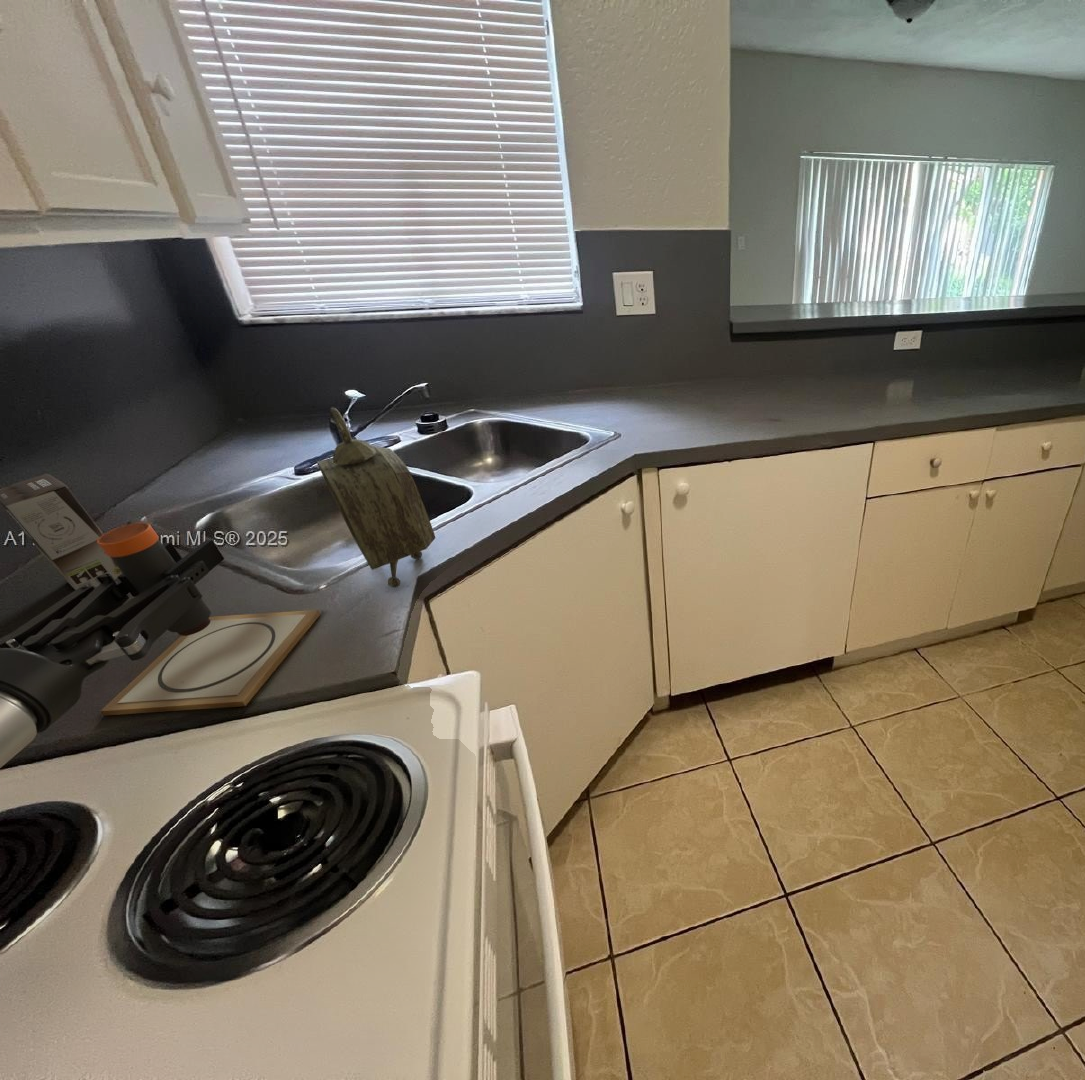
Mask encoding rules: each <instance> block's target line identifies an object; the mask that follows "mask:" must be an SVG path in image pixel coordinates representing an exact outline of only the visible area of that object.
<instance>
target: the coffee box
mask: <svg viewBox="0 0 1085 1080" xmlns="http://www.w3.org/2000/svg"><path fill="white" fill-rule="evenodd" d="M0 507H1V509H2V510H3V511H4V512H5V513H6V514H7V515H8V516H9V517H10V519H11V520H12V521H13V522H14V523H15V524H16V525H17V526H18V528H19V529H20V530H21V531H22V532H23V533H24V535H25V536H26V537H27V538H28V539H29V540H30V541H31V543H32V544H33V545H34V546H35V548H36V549H38V551H39V552H40V553H41V554H42V555H43V557H45V559H46V560H47V561H48V562H49V563H50V564H51V565H52V566H53V568H54V569H55V570H56V571H57V572H58V573H59V574H60V576H61V577H62V578H63V579H64V580H65V581H66V582H67V583H68V584H69V585H70V586H71V587H72V588H73V589H74V591H75V590H77V589H78V588H80V587H81V586H83V585H86V584H92V585H93V586H94V587H97V586H99V585H100V584H101V583H100V582H99V581H98V580H97V577H98V576H100V575H103V574H106V573H109V574H111V576H112V577H113V578H114V579H116V578H118V576H119V575H121V574H122V571H121V570H120V569H119V568H118V566H117V565H116V564H115V563H114V561H113V560H112V559H111V557H109V556H107V555H106V553H105V552H104V551H103V549H102V548H101V547H100V546H99V544H98V543H97V540H98V539H99V538H100V537H101V536H102V535H104V534H105V533H104V532H102V530H101V528H99V526H98V525H97V524H96V522H95V521H94V520H93V518H92V517H91V516H90V514H89V513H88V512H87V510H86V509H85V508H84V506H83V505H82V504H81V503H80V502H79V500H78V499H77V498H76V496H75V495H74V494H73V492H72V490H70V488H69V487H68V485H67V484H65V483H63V482H62V481H60V479H57V478H56V477H54V476H52V475H51V474H49V473H45V474H42V475H41V474H40V475H37V476H35V477H31V478H28V479H24V480H22V481H19V482H16V483H12V484H10V485H8V486H5V487H2V488H0Z"/></svg>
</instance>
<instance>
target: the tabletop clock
mask: <svg viewBox="0 0 1085 1080" xmlns="http://www.w3.org/2000/svg"><path fill="white" fill-rule="evenodd" d="M330 414H331V417H332V418H333V420H334V422H335V424H336V426H337V429H338V431H339V434H340V436H341V438H342V439H341V440H342V442H340V443H338V444H337V445H336V446H335V448H334V451H333V455H332V457H329V458H326V459H322V460H318V461H316V464H317V466H318V469H319V470H320V471H319V472H320V473H321V475H322V477H323V479H324V481H325V483H326V486H327V487H328V490H329V492H330V494H331V495H332V498H333V500H334V502H335V504H336V506H337V508H338V510H339V512H340V514H341V516H342V519H343V520H344V522H345V524H346V526H347V529H348V530H349V532H350V535H351V536H352V538H353V540H354V541H355V544H356V545H357V547H358V549H359V550H360V552H361V554H362V556H363V557H364V559H365V561H366V563H367V564H368V565H369V567H370V569H371V570H372V571H373V570H375V569H378V568H381V567H384V566H386V565H390V574H391V577H389V578H388V579H387V585H388V587H390V588H394V589H395V588H398V587H399V586H400V584H401V579H400V578H399V577H398V576H397V568H398V563H399V560H401V559H404V558H406V557H407V558H408V557H409V556H410V557H411V558H412V559H413V560H420V559H421V558H422V557H423V552H422V551H425V550H427V549H428V547H429V546H430V545H431V544H432V543H433V542H434V541H435V539H436V535H435V531H434V529H433V526H432V523H431V521H430V517H429V515H428V512H427V510H426V507H425V505H424V502H423V499H422V497H421V494H420V491H419V489H418V487H417V485H416V482H415V480H414V478H413V476H412V473H411V471H410V469H409V468H408V466H407V465H406V463H404V461H403V460H402V459H401V458H400V457H399V456H398V455H397V453H395V452H394V451H393V450H392V449H391V448H387V447H383V446H382V447H381V446H375V445H371V444H370V443H369V442H367V441H365V440H362V439H359V438H355V439H353V438H352V436H351V433H350V430H349V429H348V426H347V424H346V421H345V420H344V418H343V416H342V414H341V412H340V411H339V410H338V409H337V408H336V407H331V408H330Z"/></svg>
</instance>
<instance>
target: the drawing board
mask: <svg viewBox="0 0 1085 1080" xmlns="http://www.w3.org/2000/svg"><path fill="white" fill-rule="evenodd" d="M321 615H322V614H321V611H320V609H308V610H306V609H305V610H294V611H278V612H277V611H276V612H275V611H274V612H262V613H247V614H245V613H244V614H232V615H217V616H215V615H214V616H210V617H209V619H210V624H209V625H208V626H207V627H206V628H205V629H203V630H201V631H199V632H197V633H195V634H192V635H188V636H181V635H179V637H178V638H177V639H176V640H175V641H174V642H172V644H171V645H170V646H169V647H168V648H166V649H165V650H164V651H162V653H161V654H160V655H159V656H158V657H156V659H155V660H153V661H152V662H151V663H150V664H149V665H148V666H147V667H146V668H144V669H143V670H142V672H140V673H139V674H138V675H137V676H136V677H135V678H134V679H133V680H132V681H130V682H129V684H127V686H125V687H124V688H123V689H122V690H121V691H120V692H119V693H118V694H116V696H115V697H114V698H112V699H111V700H110V701H109V702H108V703H107V704H106V705H105V706H103V708H102V709H101V710H100V711H99V712H100V713H101V714H102V715H103V716H105V717H107V716H118V715H120V716H121V715H133V714H135V715H137V714H150V713H161V712H162V713H164V712H178V711H194V710H207V709H222V708H223V709H224V708H235V707H236V708H238V707H247V705H248V704H249V703H250V702H251V701H252V699H253V698H254V696H256V695H257V693H258V692H259V690H261V688H262V687H263V686H264V684H265V683H266V682H267V681H268V679H269V678H270V677H271V676H272V675H273V673H274V672H275V671H276V670H277V669H278V667H279V666H280V665H281V664H282V662H283V661H284V660H285V659H286V657H287V656H288V655H289V654H290V652H291V651H292V650H293V649H294V647H295V646H296V645H298V643H299V641H301V639H302V638H303V637H304V636H305V634H306V633H307V632H308V630H309V629H310V628H311V627H312V626H313V624H314V623H315V622H316V621H317V620H318V618H319V617H320V616H321Z"/></svg>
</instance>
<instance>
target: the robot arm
mask: <svg viewBox="0 0 1085 1080" xmlns="http://www.w3.org/2000/svg"><path fill="white" fill-rule="evenodd" d="M162 544H163V546H164V547H165V548H166V550H167V551H168V553H169V554H170V555H171V557H172V558H173V560H174V561H175V562H176V564H174V565H173V566H172V567H171V568H169V569H168V570H166V571H165V572H164V573H163V574H162V575H163V576H164V579H163V580H161V581H160V582H158V583H157V584H155V585H153V586H152V587H150V588H149V589H147V590H145V591H144V592H142V593H141V594H139V593H138V591H137V590H136V589H135V588H134V586H133V585H132V584H131V583H130V581H129V580H128V579H127V578H126V576H125V575H124V574H123V573H122V574H121V575H119V576H118V578H116V579H114V578H113V577H112V576H111V574H109V573H106V574H103V575H100V576H98V577H97V580H98V581H99V582H100V583H101V584H100V585H99V586H97V587H94V586H93V585H92V584H86V585H83V586H81V587H80V588H78V589H77V590H75V589H74V591H71V593H69V594H67V595H66V596H64V597H63V598H62V599H60V600H59V601H57V602H55V603H54V604H53V605H51V606H50V607H48V608H47V609H44V611H42V612H40V613H39V614H37V615H36V616H33V618H32V619H30V620H29V621H27V622H26V623H24V624H23V625H21V626H19V627H18V628H17V629H15V630H13V631H11V632H10V633H8V634H6V635H4V636H2V637H0V769H1V768H2V767H3V766H5V765H6V764H7V763H8V762H9V761H11V760H12V759H13V758H14V757H15V756H17V754H19V753H20V752H21V751H23V749H25V748H26V747H27V746H28V745H29V744H30V743H32V742H33V741H34V740H35V738H36V736H37V735H38V734H40V733H43V732H44V731H46V730H47V729H48V728H50V727H51V726H52V725H53V724H54V723H56V721H57V720H59V719H60V718H61V717H62V716H63V715H64V714H65V713H67V712H68V711H69V710H70V709H72V708H73V707H74V706H75V705H76V704H77V703H78V701H79V700H80V699H81V697H82V696H81V695H82V687H83V682H84V680H85V678H87V677H89V676H90V675H92V674H94V673H95V672H97V671H98V670H99V671H100V669H103V667H105V666H106V665H107V664H108V663H109V661H110V660H113V659H117V658H120V657H123V656H126V657H128V659H130V661H133V662H135V661H139V660H141V659H142V658H144V657H146V656H147V655H148V653H149V651H150V649H151V647H152V645H153V644H154V643H155V642H156V641H157V640H158V639H159V638H160V637H161V636H163V634H164V633H165V632H167V631H168V629H169V628H170V627H171V626H172V625H173V624H174V623H175V622H176V621H177V620H178V619H179V618H180V617H181V616H183V615H184V614H185V613H186V612H187V611H188V610H189V609H190V608H191V607H192V606H193V605H194V604H195V603H196V602H198V601H199V600H200V599H201V598H202V599H203V594H202V593H201V592H200V590H199V588H198V587H197V585H196V584H197V583H198V582H199V581H201V580H202V579H204V578H205V577H206V576H207V575H208V574H209V573H210V572H211V571H212V570H213V569H214V568H216V567H217V566H218V565H220V563H222V562H223V561H224V560H225V557H224V556H223V554H222V553H221V552H220V549H219V548H218V546H217V545H216V544H215V542H214V540H213V539H206V540H204V541H203V542H201V543H199V544H198V545H197V546H196V547H195V548H193V549H192V550H191V551H190V552H188V553H187V554H186V555H184V556H183V557H182V556H181V555H180V553H179V552H178V550H177V549H176V547H175V546H174V545H173V543H172V542H164V543H162ZM128 594H130V595H131V597H133V598H131V599H130V597H129V595H128ZM129 599H130V600H129Z"/></svg>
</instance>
